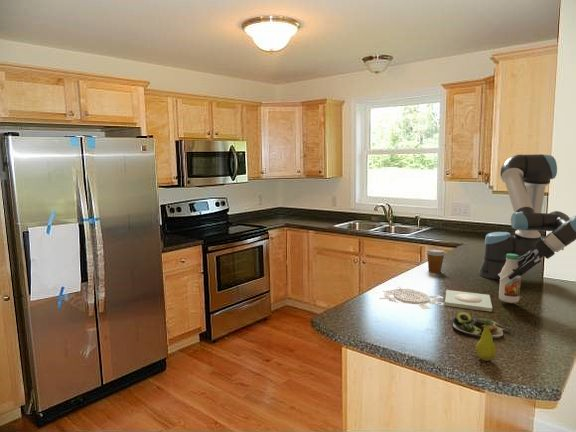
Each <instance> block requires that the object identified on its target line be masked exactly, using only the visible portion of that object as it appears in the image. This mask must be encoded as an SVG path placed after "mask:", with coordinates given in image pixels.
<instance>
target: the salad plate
mask: <svg viewBox="0 0 576 432" xmlns="http://www.w3.org/2000/svg"><path fill="white" fill-rule="evenodd" d="M483 320H484V322H485V324H486V327H487V328H488V329H489V330H490V332H491V335H492V338H493V339H499V338H501V337H503V336H504V332H503V331H510V330H512V329H511V327H509V326H505V325H502V324H500V323H498V322H496V321H493V320H492V319H487V318H485V317H484V318H477V317H473V316H472V315H471V313H469V312H467V311H466V310H465V311H464V310H460V311H458V312H457V313H456V314H455V316H454V317H453V318H452V320H451V321H452V322H451V323H452V329H453V330H454V331H455V332H456V333H458V334H460V335H464V336H468V337H476V338H481V335H482V333H483V330H484V327H485V324H484V323H483Z"/></svg>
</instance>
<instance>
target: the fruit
mask: <svg viewBox="0 0 576 432" xmlns="http://www.w3.org/2000/svg"><path fill="white" fill-rule="evenodd" d="M483 323H484V324H485V322H484V320H483ZM480 335H481V337H480V339H479V340H478V342H477V343H476V344H475V352H476V353H475V354H477V356H478V358H480V359H481V360H482V361H484V362H487V361H492V360H493V359H494V358H495V357H496V354H497V348H496V345H495V343H494V340H493V339H494V338H492V335H493V334H492V333H491V332H490V330H489V329H488V328H487V327H486V324H485V327H484V330H483V332H482V333H481V334H480Z"/></svg>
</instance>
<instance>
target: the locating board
mask: <svg viewBox="0 0 576 432" xmlns="http://www.w3.org/2000/svg"><path fill="white" fill-rule="evenodd" d="M444 306H445V307H446V306H447V307H453V308H462V309H469V310H477V311H483V312H484V311H485V312H490V313H492V312H493V305H492V299H491V295H490V294H487V293H486V294H485V293H477V292H476V293H475V292H468V291H459V290H451V289H446V290H445V300H444Z"/></svg>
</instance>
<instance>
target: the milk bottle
mask: <svg viewBox="0 0 576 432" xmlns="http://www.w3.org/2000/svg"><path fill="white" fill-rule="evenodd" d="M518 258H519V256H518V255H517V254H506V263H505V265H504V267H503V268H502V271H501V276H500V279H501V278H503V277H504V276H506V275H507V274H508V273H510V272H511V271H513V269H517V268H518V267H519V266H518V262H517V261H518ZM521 279H522V276H520V275H519V276H517V277H516V278H514V279H513V280H511V281H510V282H508V283H507V284H505V285H504V284H503V283H502V282H501V281H500V280H499V288H498V289H499V290H498V300H500V301H502V302H505V303H512V304H513V303H518V302H519V301H520V295H521V294H520V293H521V282H522V280H521Z"/></svg>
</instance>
